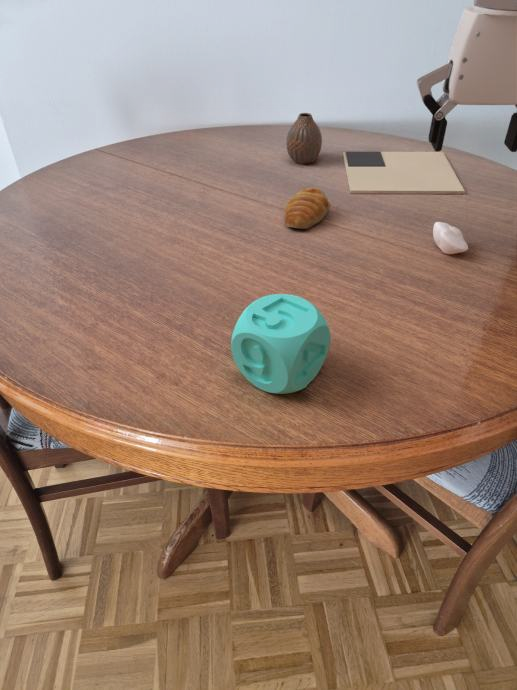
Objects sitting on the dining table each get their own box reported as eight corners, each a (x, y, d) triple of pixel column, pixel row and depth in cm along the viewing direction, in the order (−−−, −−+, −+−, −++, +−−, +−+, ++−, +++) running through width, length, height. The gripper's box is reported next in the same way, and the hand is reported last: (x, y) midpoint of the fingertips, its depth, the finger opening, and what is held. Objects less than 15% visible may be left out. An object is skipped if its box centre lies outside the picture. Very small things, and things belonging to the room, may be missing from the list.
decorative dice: (328, 365, 63) (334, 310, 57) (288, 406, 58) (290, 349, 53) (273, 338, 66) (273, 284, 61) (231, 374, 62) (227, 319, 57)
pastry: (314, 235, 85) (315, 213, 83) (274, 228, 87) (274, 206, 85) (332, 210, 92) (333, 188, 89) (294, 203, 94) (295, 182, 91)
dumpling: (421, 242, 84) (429, 216, 82) (452, 246, 85) (461, 221, 83) (438, 258, 78) (447, 231, 76) (471, 262, 79) (481, 236, 77)
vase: (326, 157, 109) (329, 112, 103) (310, 169, 105) (312, 123, 99) (296, 151, 112) (298, 106, 106) (279, 162, 107) (280, 116, 102)
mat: (442, 154, 109) (443, 150, 109) (464, 194, 96) (465, 189, 95) (342, 154, 110) (342, 150, 110) (350, 193, 97) (350, 189, 96)
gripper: (576, -11, 63) (529, 138, 74) (425, -10, 64) (402, 137, 75) (604, 0, 57) (549, 159, 68) (439, 1, 58) (411, 159, 69)
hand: (472, 148), depth 72 cm, fingers open, 9 cm apart
